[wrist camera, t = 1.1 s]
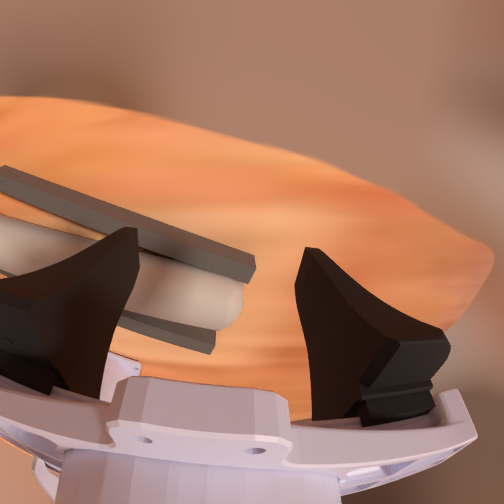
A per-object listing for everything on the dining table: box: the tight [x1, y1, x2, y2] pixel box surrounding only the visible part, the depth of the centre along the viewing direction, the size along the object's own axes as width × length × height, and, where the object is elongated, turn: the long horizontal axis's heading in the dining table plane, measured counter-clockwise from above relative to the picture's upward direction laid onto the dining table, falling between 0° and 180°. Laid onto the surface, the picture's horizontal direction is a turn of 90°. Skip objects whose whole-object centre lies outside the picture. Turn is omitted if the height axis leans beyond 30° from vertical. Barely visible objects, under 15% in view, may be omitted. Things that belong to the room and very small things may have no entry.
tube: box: [0, 213, 244, 331], centre depth 21 cm, size 5×5×25 cm
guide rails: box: [0, 165, 256, 355], centre depth 22 cm, size 10×24×2 cm, turn 66°
